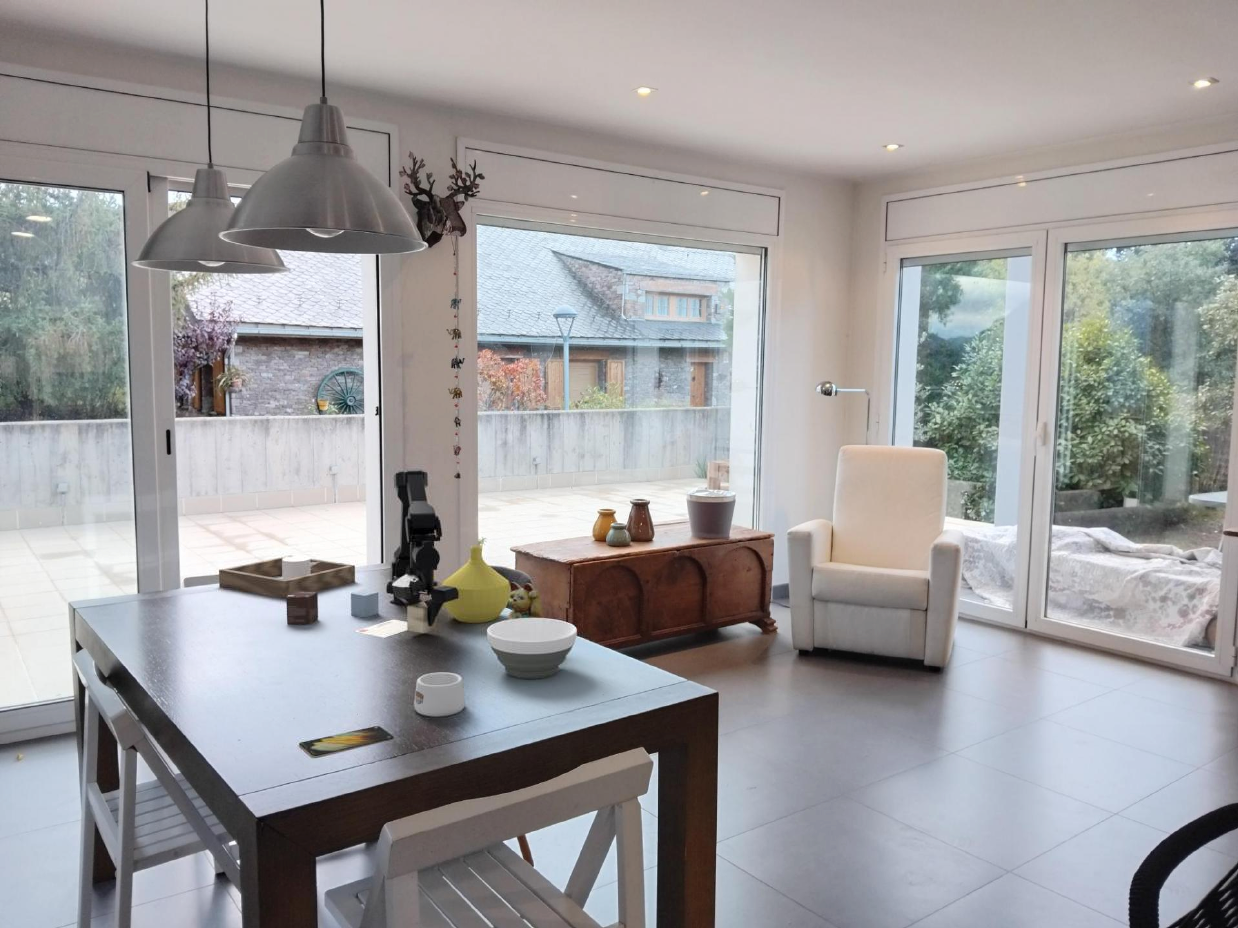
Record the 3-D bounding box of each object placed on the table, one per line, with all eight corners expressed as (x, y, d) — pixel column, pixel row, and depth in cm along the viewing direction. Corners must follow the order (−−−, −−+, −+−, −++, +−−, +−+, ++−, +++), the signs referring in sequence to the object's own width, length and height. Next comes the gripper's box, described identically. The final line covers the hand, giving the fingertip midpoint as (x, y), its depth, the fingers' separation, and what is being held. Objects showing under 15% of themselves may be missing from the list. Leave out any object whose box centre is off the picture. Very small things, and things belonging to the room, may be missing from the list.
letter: (393, 619, 249) (393, 619, 249) (422, 625, 244) (422, 624, 244) (353, 631, 237) (353, 631, 237) (384, 638, 232) (384, 637, 232)
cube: (364, 611, 258) (364, 589, 257) (378, 614, 255) (378, 592, 254) (351, 615, 253) (350, 593, 253) (365, 618, 251) (364, 595, 250)
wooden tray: (291, 570, 307) (290, 555, 306) (355, 581, 293) (354, 565, 293) (219, 586, 283) (219, 569, 283) (285, 598, 270) (284, 581, 269)
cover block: (421, 625, 239) (420, 602, 238) (436, 628, 236) (436, 604, 236) (407, 630, 234) (407, 606, 234) (423, 633, 232) (422, 608, 231)
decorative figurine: (500, 643, 229) (500, 582, 228) (518, 635, 237) (518, 576, 235) (535, 649, 225) (535, 586, 224) (552, 640, 233) (553, 580, 231)
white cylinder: (342, 585, 289) (341, 559, 288) (281, 595, 276) (280, 567, 275) (310, 574, 303) (310, 549, 302) (250, 583, 290) (250, 557, 289)
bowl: (554, 691, 196) (554, 645, 195) (470, 679, 203) (470, 635, 202) (589, 664, 214) (590, 623, 213) (511, 654, 221) (512, 614, 220)
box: (318, 619, 249) (318, 591, 248) (309, 625, 243) (308, 597, 242) (296, 618, 249) (296, 590, 248) (286, 624, 243) (285, 596, 242)
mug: (474, 711, 184) (474, 680, 183) (428, 721, 178) (428, 690, 177) (444, 694, 193) (444, 665, 193) (400, 703, 187) (399, 673, 187)
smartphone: (395, 737, 169) (312, 756, 160) (395, 740, 170) (312, 759, 160) (378, 725, 175) (297, 742, 166) (378, 728, 175) (297, 746, 166)
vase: (503, 608, 264) (503, 539, 262) (517, 625, 246) (517, 552, 245) (436, 612, 258) (436, 542, 256) (446, 629, 241) (446, 555, 239)
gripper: (370, 563, 231) (370, 626, 233) (429, 572, 222) (429, 637, 224) (401, 556, 241) (402, 616, 242) (460, 564, 232) (459, 627, 233)
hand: (422, 624), depth 235 cm, fingers closed on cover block, 5 cm apart
